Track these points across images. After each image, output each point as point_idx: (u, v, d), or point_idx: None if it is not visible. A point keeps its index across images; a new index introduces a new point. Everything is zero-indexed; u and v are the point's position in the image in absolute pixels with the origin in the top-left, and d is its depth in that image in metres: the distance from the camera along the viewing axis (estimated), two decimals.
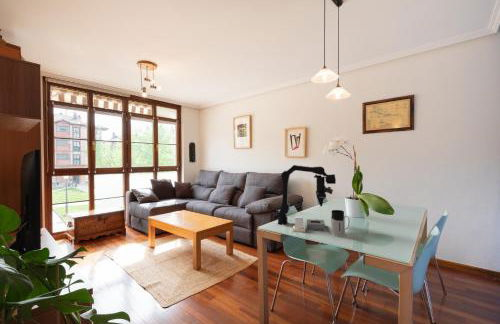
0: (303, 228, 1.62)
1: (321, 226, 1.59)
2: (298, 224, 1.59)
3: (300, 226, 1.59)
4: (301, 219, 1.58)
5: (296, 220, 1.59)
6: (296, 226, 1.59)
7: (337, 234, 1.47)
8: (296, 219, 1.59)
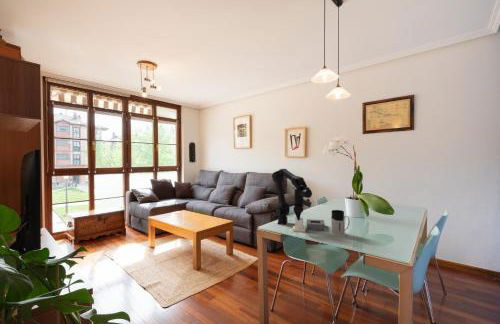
0: (303, 228, 1.62)
1: (321, 226, 1.59)
2: (298, 224, 1.59)
3: (300, 226, 1.59)
4: (301, 219, 1.58)
5: (296, 220, 1.59)
6: (296, 226, 1.59)
7: (337, 234, 1.47)
8: (296, 219, 1.59)
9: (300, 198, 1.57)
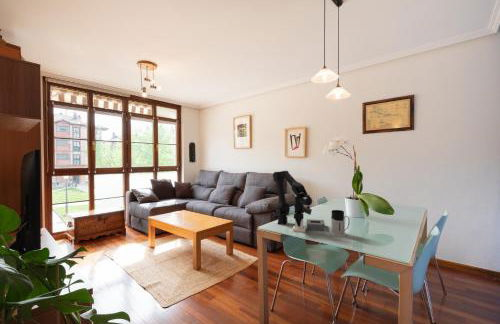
0: (303, 228, 1.62)
1: (321, 226, 1.59)
2: None
3: (300, 226, 1.59)
4: (301, 219, 1.58)
5: None
6: (296, 226, 1.59)
7: (337, 234, 1.47)
8: None
9: (300, 205, 1.58)
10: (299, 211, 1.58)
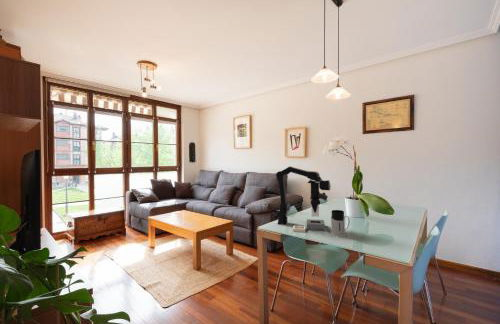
0: (303, 228, 1.62)
1: (321, 226, 1.59)
2: None
3: (316, 212, 1.64)
4: None
5: None
6: (312, 212, 1.64)
7: (337, 234, 1.47)
8: None
9: (316, 192, 1.62)
10: (315, 197, 1.63)
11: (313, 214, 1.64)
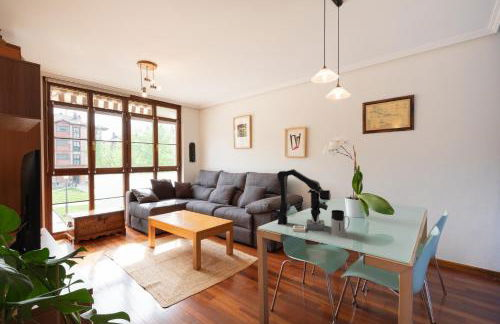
0: (303, 228, 1.62)
1: (321, 226, 1.59)
2: None
3: (316, 221, 1.64)
4: None
5: None
6: (312, 221, 1.65)
7: (337, 234, 1.47)
8: None
9: (317, 201, 1.63)
10: (315, 207, 1.63)
11: None
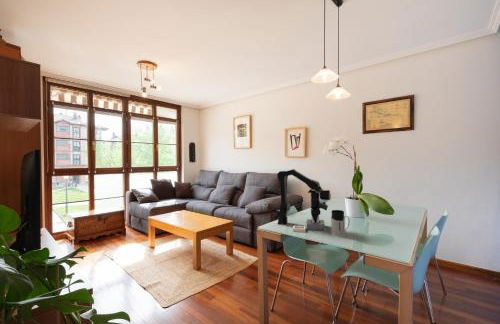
0: (303, 228, 1.62)
1: (321, 226, 1.59)
2: (314, 222, 1.64)
3: None
4: None
5: None
6: None
7: (337, 234, 1.47)
8: None
9: (317, 201, 1.63)
10: (315, 207, 1.63)
11: None
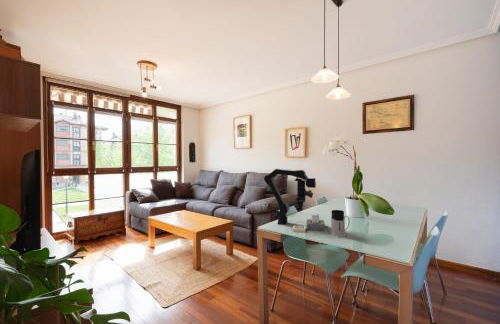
0: (303, 228, 1.62)
1: (321, 226, 1.59)
2: (314, 222, 1.64)
3: None
4: (317, 217, 1.64)
5: (313, 218, 1.64)
6: None
7: (337, 234, 1.47)
8: (313, 217, 1.64)
9: (302, 189, 1.69)
10: (301, 194, 1.69)
11: None
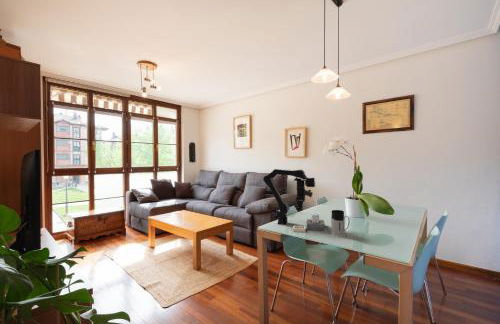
0: (303, 228, 1.62)
1: (321, 226, 1.59)
2: (314, 222, 1.64)
3: None
4: (317, 217, 1.64)
5: (313, 218, 1.64)
6: None
7: (337, 234, 1.47)
8: (313, 217, 1.64)
9: (302, 189, 1.70)
10: (301, 194, 1.70)
11: None
